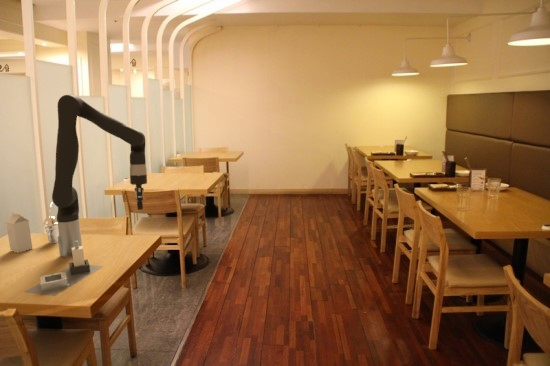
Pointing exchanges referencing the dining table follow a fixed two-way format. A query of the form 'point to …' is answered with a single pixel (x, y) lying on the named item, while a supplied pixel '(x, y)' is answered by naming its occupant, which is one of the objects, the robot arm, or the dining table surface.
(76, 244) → the plug
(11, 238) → the milk carton
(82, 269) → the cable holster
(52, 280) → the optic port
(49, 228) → the cup with straw
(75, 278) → the port board
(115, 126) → the robot arm
